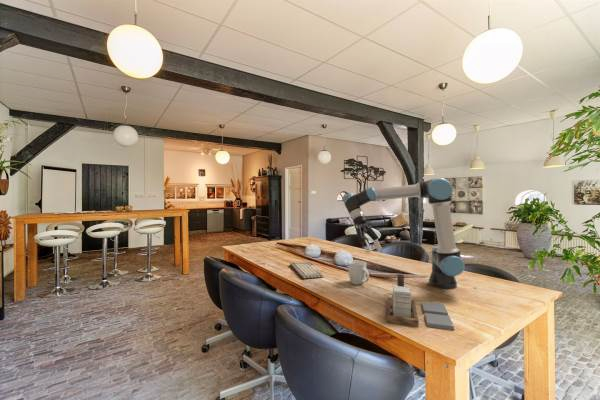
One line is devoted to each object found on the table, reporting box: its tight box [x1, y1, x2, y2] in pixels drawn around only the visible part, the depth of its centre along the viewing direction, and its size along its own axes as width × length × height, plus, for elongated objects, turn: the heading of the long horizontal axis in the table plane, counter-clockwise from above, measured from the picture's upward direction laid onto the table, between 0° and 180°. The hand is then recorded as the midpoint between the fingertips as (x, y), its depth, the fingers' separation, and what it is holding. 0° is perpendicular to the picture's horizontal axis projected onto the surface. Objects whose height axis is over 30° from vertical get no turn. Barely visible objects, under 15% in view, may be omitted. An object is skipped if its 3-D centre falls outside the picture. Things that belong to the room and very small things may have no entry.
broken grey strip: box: [421, 300, 455, 331], centre depth 125 cm, size 10×24×2 cm, turn 161°
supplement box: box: [392, 285, 412, 318], centre depth 124 cm, size 7×7×13 cm
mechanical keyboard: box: [288, 260, 324, 281], centre depth 197 cm, size 38×19×3 cm, turn 17°
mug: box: [347, 259, 370, 286], centre depth 168 cm, size 15×11×13 cm
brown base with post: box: [385, 274, 420, 328], centre depth 128 cm, size 13×26×14 cm, turn 161°
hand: (374, 251), depth 151 cm, fingers open, 13 cm apart
